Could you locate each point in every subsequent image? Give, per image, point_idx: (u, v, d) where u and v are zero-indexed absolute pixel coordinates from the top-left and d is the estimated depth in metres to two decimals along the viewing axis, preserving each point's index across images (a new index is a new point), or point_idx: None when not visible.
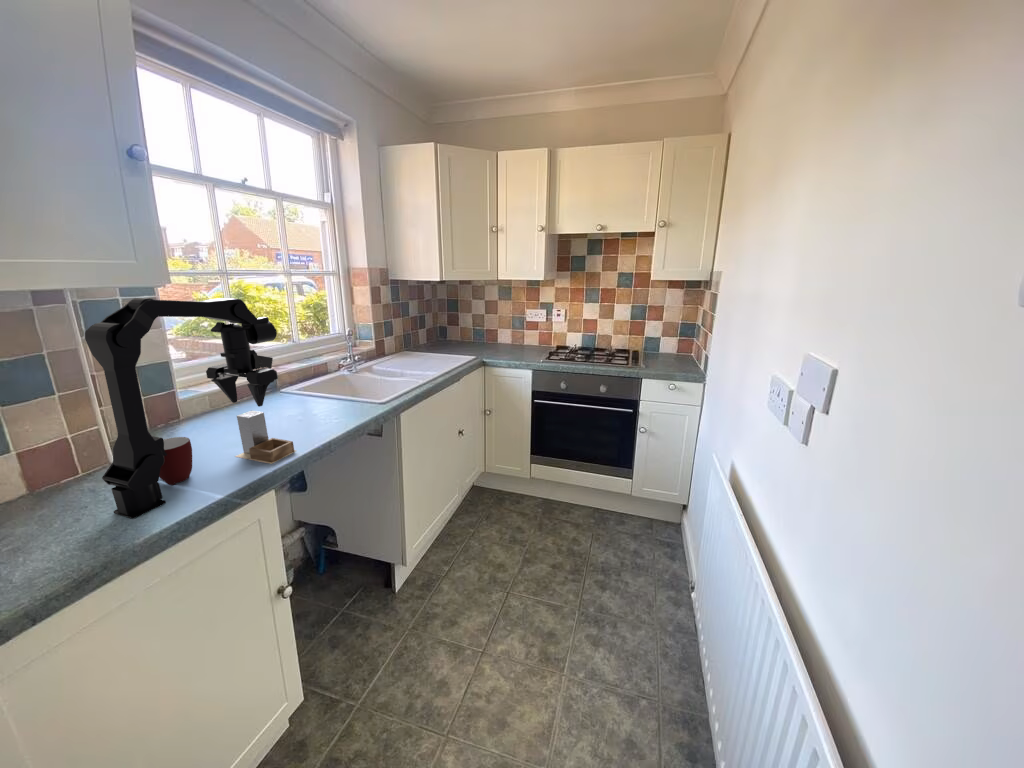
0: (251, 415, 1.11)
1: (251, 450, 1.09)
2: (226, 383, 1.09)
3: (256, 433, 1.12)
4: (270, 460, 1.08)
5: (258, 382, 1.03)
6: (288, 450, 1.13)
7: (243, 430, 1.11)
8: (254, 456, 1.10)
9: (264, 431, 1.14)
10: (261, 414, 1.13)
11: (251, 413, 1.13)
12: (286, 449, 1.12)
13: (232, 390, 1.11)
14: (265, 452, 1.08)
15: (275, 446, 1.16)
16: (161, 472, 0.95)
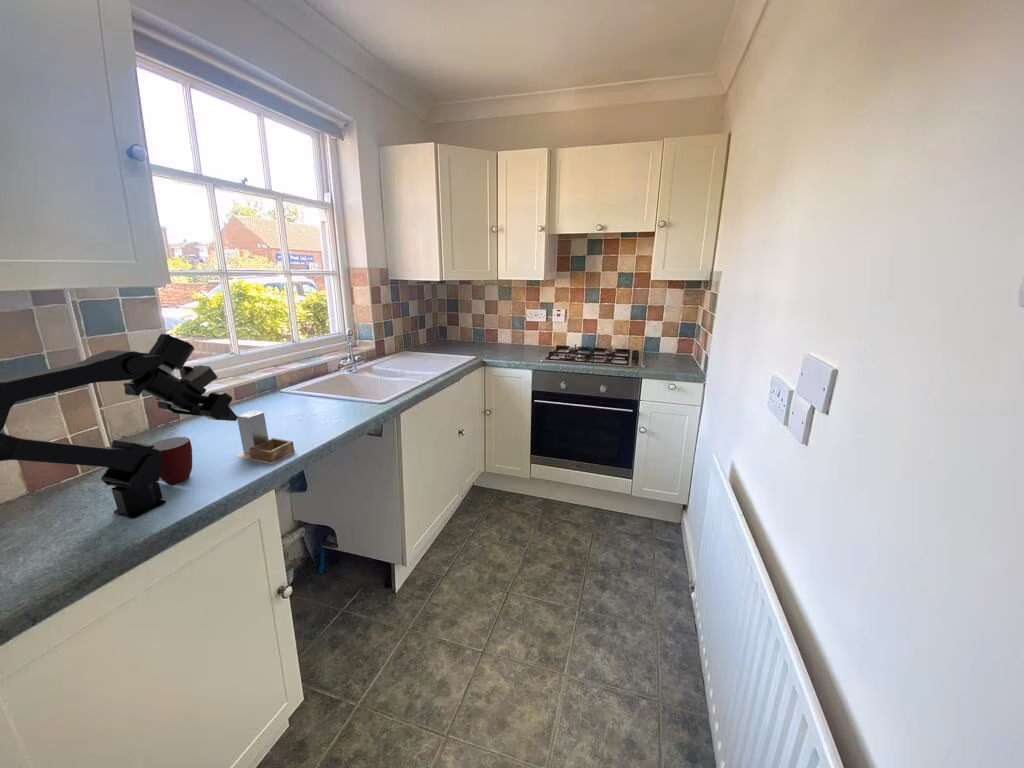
0: (251, 415, 1.11)
1: (251, 450, 1.09)
2: None
3: (256, 433, 1.12)
4: (270, 460, 1.08)
5: (217, 418, 0.94)
6: (288, 450, 1.13)
7: (243, 430, 1.11)
8: (254, 456, 1.10)
9: (264, 431, 1.14)
10: (261, 414, 1.13)
11: (251, 413, 1.13)
12: (286, 449, 1.12)
13: (198, 408, 1.03)
14: (265, 452, 1.08)
15: (275, 446, 1.16)
16: (161, 472, 0.95)
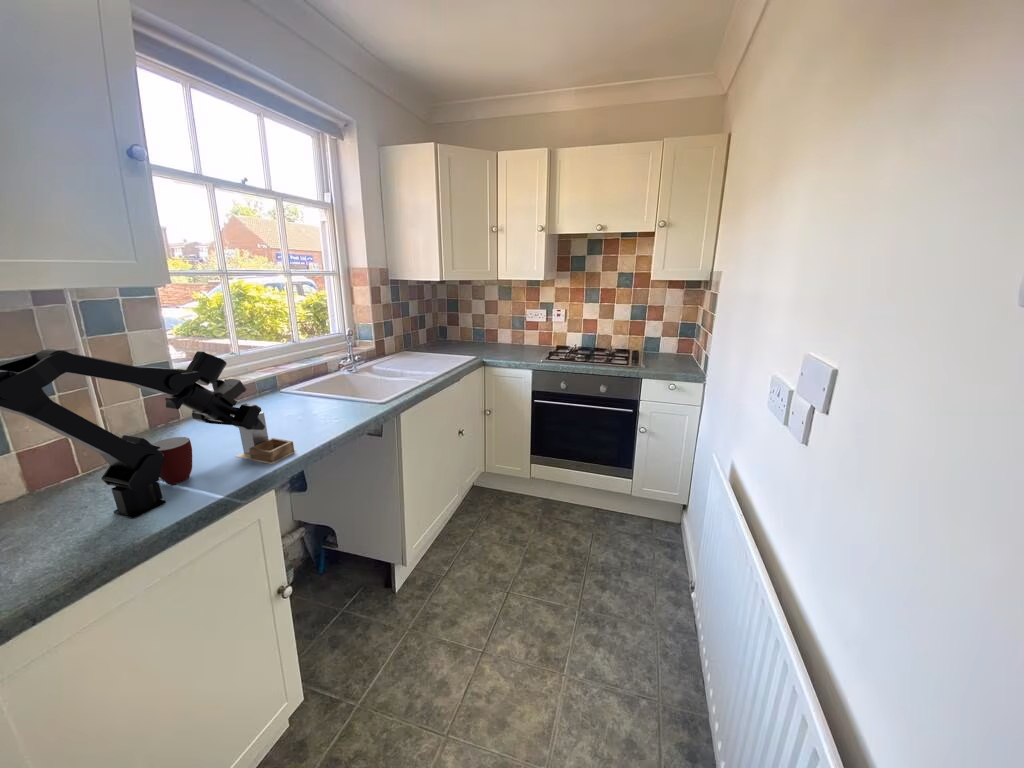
0: None
1: (251, 450, 1.09)
2: None
3: (256, 433, 1.12)
4: (270, 460, 1.08)
5: (248, 428, 1.02)
6: (288, 450, 1.13)
7: (243, 430, 1.11)
8: (254, 456, 1.10)
9: (264, 431, 1.14)
10: (261, 414, 1.13)
11: None
12: (286, 449, 1.12)
13: (228, 418, 1.11)
14: (265, 452, 1.08)
15: (275, 446, 1.16)
16: (161, 472, 0.95)
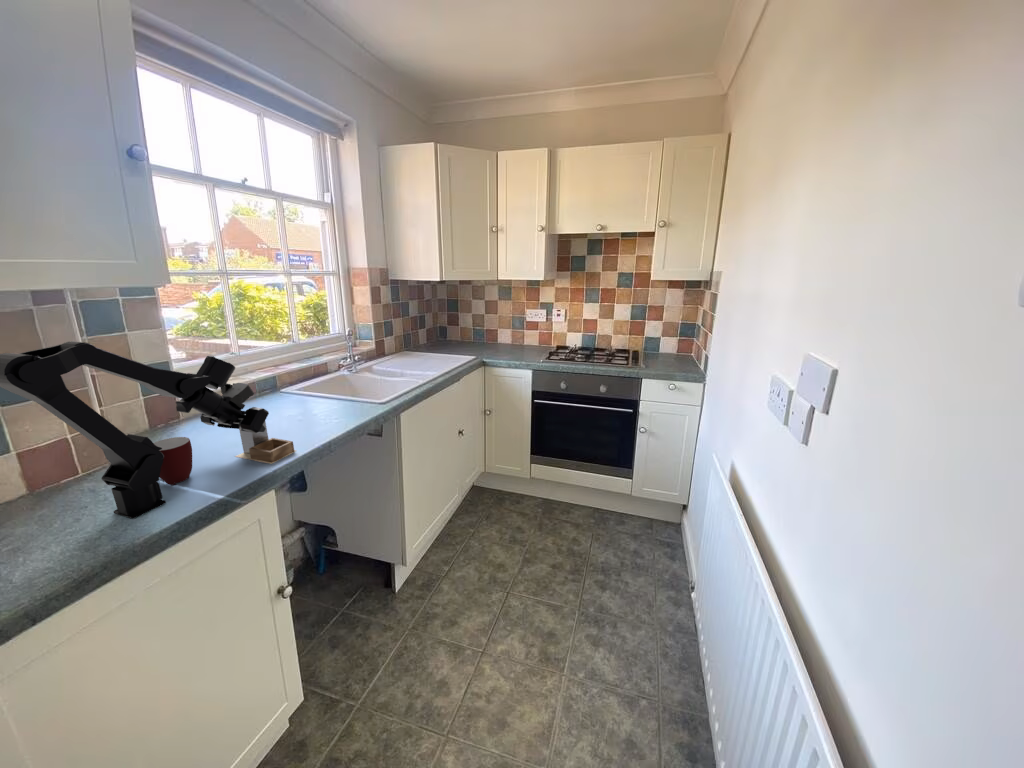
0: None
1: (251, 450, 1.09)
2: (232, 422, 1.10)
3: (256, 433, 1.12)
4: (270, 460, 1.08)
5: (256, 431, 1.04)
6: (288, 450, 1.13)
7: None
8: (254, 456, 1.10)
9: (264, 431, 1.14)
10: None
11: None
12: (286, 449, 1.12)
13: None
14: (265, 452, 1.08)
15: (275, 446, 1.16)
16: (161, 472, 0.95)
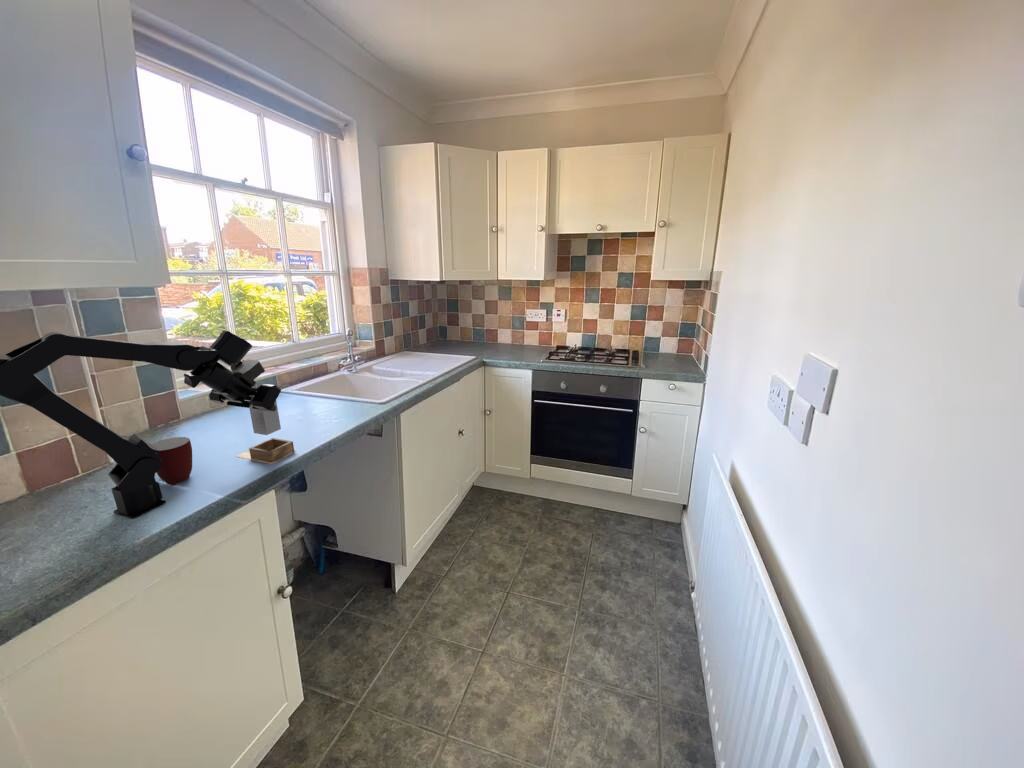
0: None
1: (251, 450, 1.09)
2: None
3: (267, 412, 1.08)
4: (270, 460, 1.08)
5: (268, 408, 1.00)
6: (288, 450, 1.13)
7: (253, 409, 1.07)
8: (254, 456, 1.10)
9: (275, 410, 1.10)
10: None
11: None
12: (286, 449, 1.12)
13: None
14: (265, 452, 1.08)
15: (275, 446, 1.16)
16: (161, 472, 0.95)
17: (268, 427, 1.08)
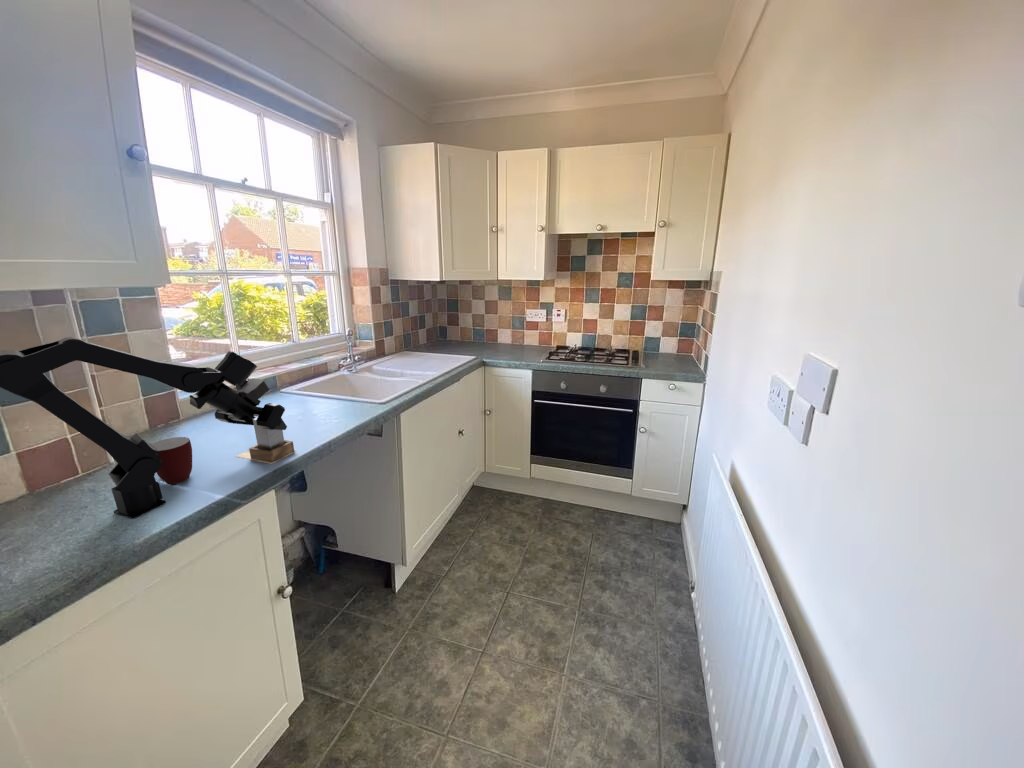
0: None
1: (251, 450, 1.09)
2: None
3: (273, 436, 1.10)
4: (270, 460, 1.08)
5: (272, 428, 1.01)
6: (288, 450, 1.13)
7: (259, 433, 1.09)
8: (254, 456, 1.10)
9: (280, 435, 1.12)
10: None
11: None
12: (286, 449, 1.12)
13: (250, 418, 1.10)
14: (265, 452, 1.08)
15: None
16: (161, 472, 0.95)
17: None
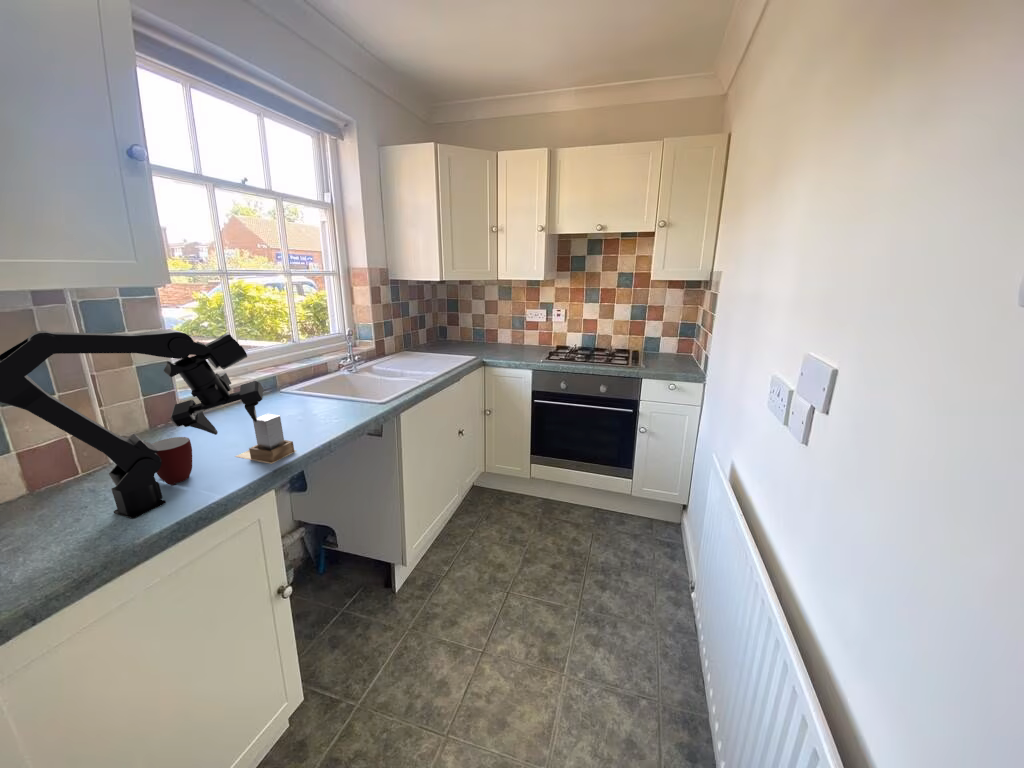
0: (267, 419, 1.08)
1: (251, 450, 1.09)
2: (201, 420, 0.98)
3: (273, 436, 1.10)
4: (270, 460, 1.08)
5: (260, 399, 0.99)
6: (288, 450, 1.13)
7: (259, 433, 1.09)
8: (254, 456, 1.10)
9: (280, 435, 1.12)
10: (277, 417, 1.10)
11: (267, 416, 1.10)
12: (286, 449, 1.12)
13: (208, 423, 1.00)
14: (265, 452, 1.08)
15: None
16: (161, 472, 0.95)
17: None
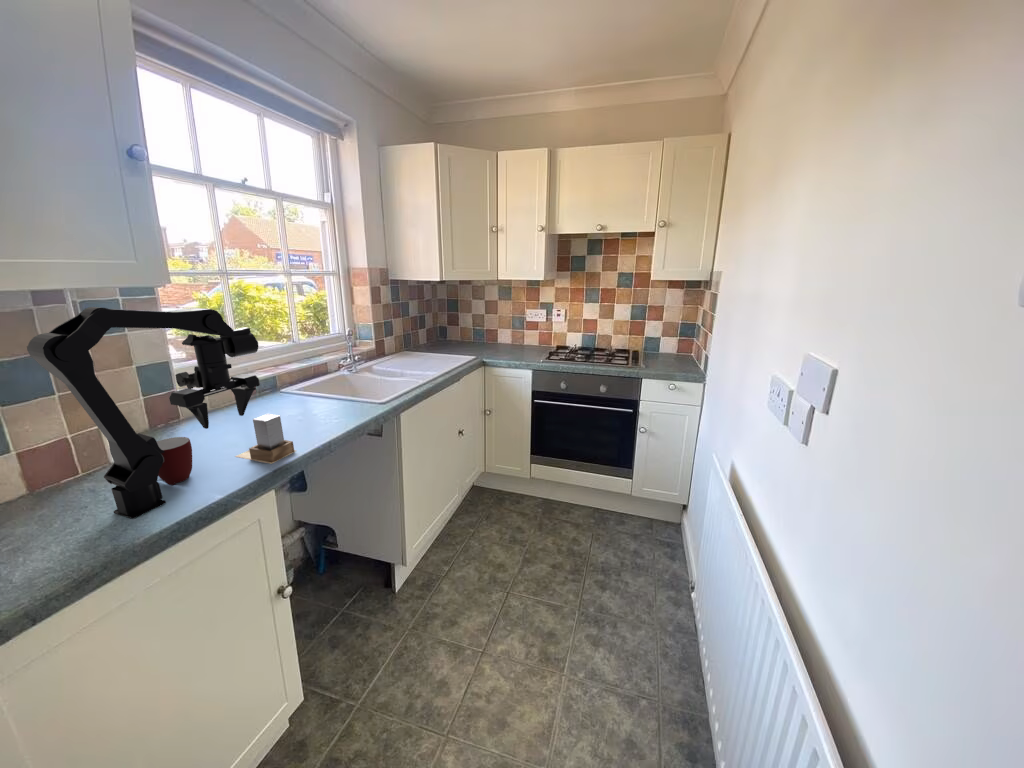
0: (267, 419, 1.08)
1: (251, 450, 1.09)
2: None
3: (273, 436, 1.10)
4: (270, 460, 1.08)
5: (259, 383, 1.08)
6: (288, 450, 1.13)
7: (259, 433, 1.09)
8: (254, 456, 1.10)
9: (280, 435, 1.12)
10: (277, 417, 1.10)
11: (267, 416, 1.10)
12: (286, 449, 1.12)
13: None
14: (265, 452, 1.08)
15: None
16: (161, 472, 0.95)
17: None
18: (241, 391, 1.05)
